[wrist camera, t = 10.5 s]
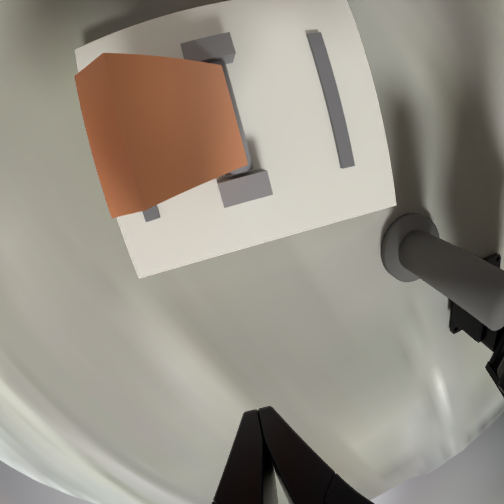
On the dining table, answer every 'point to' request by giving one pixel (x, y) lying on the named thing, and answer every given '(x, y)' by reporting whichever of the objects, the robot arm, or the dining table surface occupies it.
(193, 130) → the block
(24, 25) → the dining table surface
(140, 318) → the dining table surface
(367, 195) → the panel
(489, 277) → the post
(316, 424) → the dining table surface
